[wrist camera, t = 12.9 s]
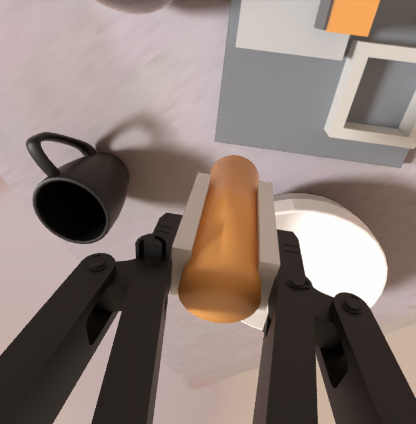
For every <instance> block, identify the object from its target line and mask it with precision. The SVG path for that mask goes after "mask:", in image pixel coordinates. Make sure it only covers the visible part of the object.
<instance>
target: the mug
mask: <svg viewBox="0 0 416 424" xmlns="http://www.w3.org/2000/svg"><path fill="white" fill-rule="evenodd" d="M41 141H54V142H59V143H63V144H67V145H70V146H72V147H75V148H77V149H78V150H79V151H81V152H82V154H83V155H84V157H82V158H79V159H76V160H74V161H72V162H69V163H67V164H65V165H63V166H61V167H60V168H57V167H56V166H55V165H54V164H53V163H52V162H51V161H50V160H49V159H48V157H47V156H46V154H45V153H44V151H43V149H42V147H41ZM26 147H27V149H28V151H29V153H30V155H31V156H32V158H33V159H34V161H35V162H36V163H37V165H38V166H39V167H40V168H41V169H42V170H43V172H44V173H45V174H46V175H47V176H48V177H47V178H45V179H44V180H43V181H42V182H41V183H39V184H38V185H37V187H36V189H35V191H34V194H33V207H34V210H35V212H36V214H37V216H38V218H39V220H40V221H41V222H42V223H43V225H45V227H46V228H47V229H49V230H50V231H51V232H52V233H53V234H55V235H57V236H58V237H60V238H62V239H64V240H66V241H69V242H73V243H78V244H90V243H94V242H97V241H99V240H100V239H102V238H103V237H104V236H105V235H106V234H107V233H108V232H109V230H110V229H111V227H112V226H113V224H114V223H115V221H116V219H117V218H118V216H119V214H120V212H121V209H122V207H123V205H124V202H125V198H126V194H127V186H128V182H129V173H128V170H127V168H126V166H125V164H124V163H123V162H122V161H121V160H120V159H119V158H117V157H116V156H114V155H112V154H108V153H97V152H96V150H95V149H94V148H93V147H92V146H91V145H90V144H88V143H86V142H84V141H81V140H78V139H74V138H71V137H67V136H64V135H60V134H55V133H50V132H43V133H39V134H37V135H34V136H32V137H30V138H29V139H28V140H27V142H26Z"/></svg>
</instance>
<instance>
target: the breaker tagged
mask: <svg viewBox="0 0 416 424" xmlns="http://www.w3.org/2000/svg"><path fill="white" fill-rule="evenodd" d="M379 2H380V0H321V1H320V5H319V9H318V13H317V17H316V21H315V25H314V28H317V29H321V30H326V32H333V33H341V34H349V35H357V36H366V37H368V35H369V32H370V29H371V26H372V23H373V20H374V17H375V14H376V11H377V8H378V5H379Z"/></svg>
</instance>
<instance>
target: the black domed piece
mask: <svg viewBox="0 0 416 424" xmlns="http://www.w3.org/2000/svg"><path fill="white" fill-rule="evenodd" d="M95 1H97V2H98V3H100V4H103V5H105V6H107V7H109V8H112V9H114V10H117V11H120V12H123V13H128V14H148V13H152V12H155V11H158V10H160V9H162V8H164V7H166V6H167V5H168V4H170V3H171V2H172V1H173V0H95Z"/></svg>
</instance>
